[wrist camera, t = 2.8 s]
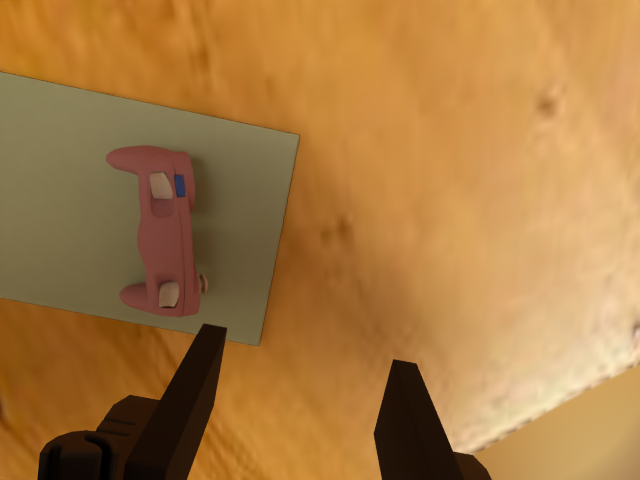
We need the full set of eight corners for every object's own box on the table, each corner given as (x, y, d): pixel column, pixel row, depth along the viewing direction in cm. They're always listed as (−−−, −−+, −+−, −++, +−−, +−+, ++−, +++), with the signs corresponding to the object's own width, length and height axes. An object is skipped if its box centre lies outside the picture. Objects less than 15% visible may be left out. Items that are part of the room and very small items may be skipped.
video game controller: (190, 291, 34) (220, 328, 28) (118, 302, 32) (133, 344, 26) (181, 142, 32) (211, 147, 26) (102, 144, 30) (114, 149, 24)
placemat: (-270, 244, 32) (-278, 246, 31) (-284, 11, 29) (-293, 9, 28) (259, 344, 34) (258, 346, 33) (300, 135, 31) (299, 135, 30)
